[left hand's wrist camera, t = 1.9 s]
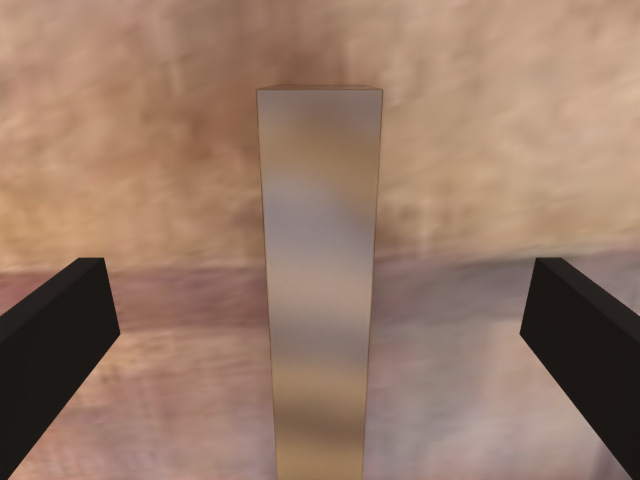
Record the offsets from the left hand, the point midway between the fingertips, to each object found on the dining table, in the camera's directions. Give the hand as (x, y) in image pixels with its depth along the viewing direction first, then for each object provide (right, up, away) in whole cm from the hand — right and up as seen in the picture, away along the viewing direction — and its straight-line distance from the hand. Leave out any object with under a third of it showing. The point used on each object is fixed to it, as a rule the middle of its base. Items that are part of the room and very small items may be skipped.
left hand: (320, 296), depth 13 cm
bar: (0, -23, +23) cm, 33 cm away
